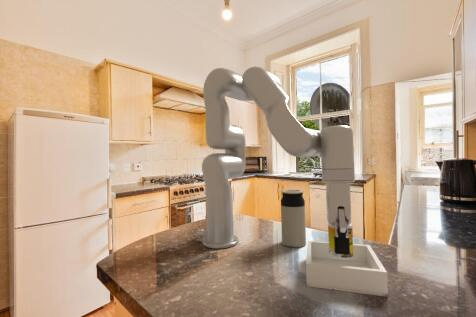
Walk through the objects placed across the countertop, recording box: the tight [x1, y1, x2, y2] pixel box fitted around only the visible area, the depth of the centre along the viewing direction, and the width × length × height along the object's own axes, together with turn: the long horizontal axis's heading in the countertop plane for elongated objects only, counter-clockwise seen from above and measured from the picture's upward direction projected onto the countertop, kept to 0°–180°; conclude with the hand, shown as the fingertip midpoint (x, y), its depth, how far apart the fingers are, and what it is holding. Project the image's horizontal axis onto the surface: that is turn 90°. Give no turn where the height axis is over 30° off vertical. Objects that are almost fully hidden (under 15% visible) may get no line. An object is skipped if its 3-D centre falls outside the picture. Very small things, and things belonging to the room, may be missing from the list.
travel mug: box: [280, 189, 307, 248], centre depth 80 cm, size 8×8×18 cm
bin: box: [305, 240, 389, 298], centre depth 58 cm, size 16×16×5 cm
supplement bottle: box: [327, 219, 354, 260], centre depth 58 cm, size 6×6×10 cm
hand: (340, 248), depth 58 cm, fingers closed on supplement bottle, 5 cm apart
